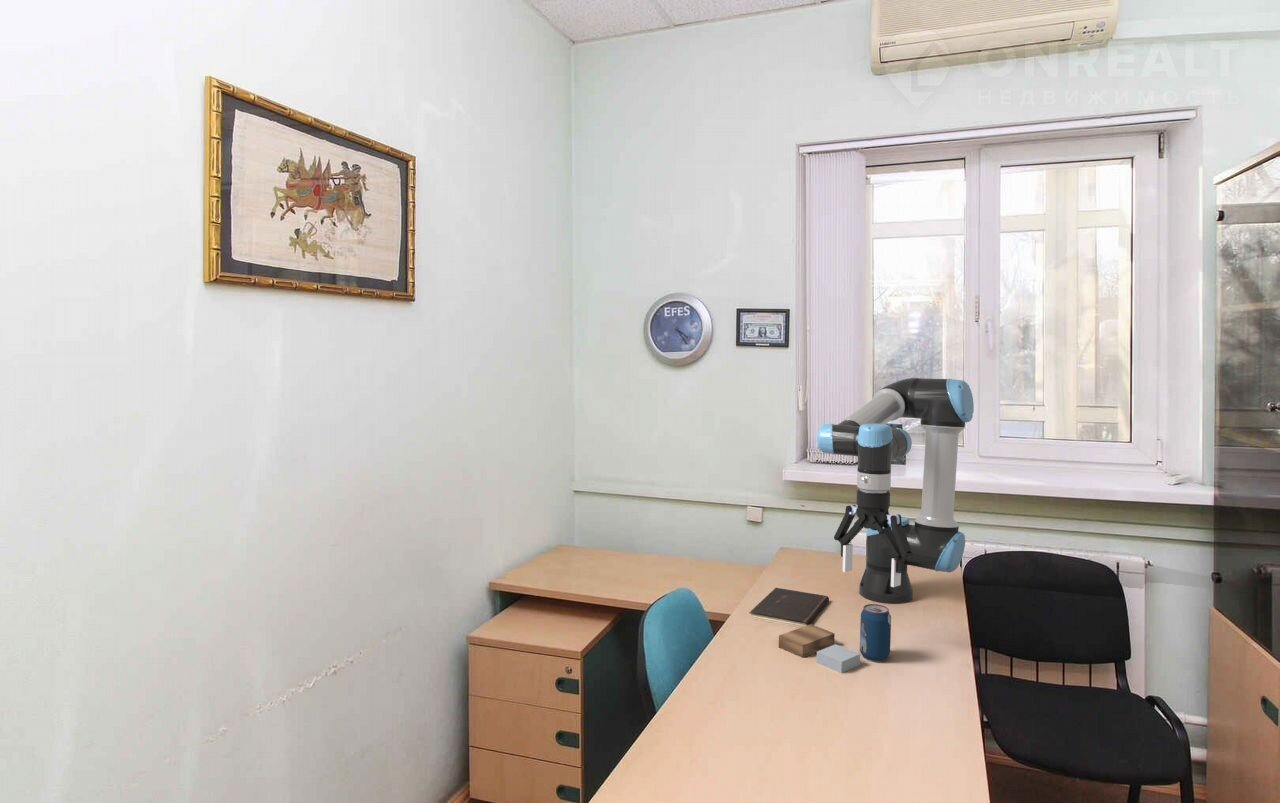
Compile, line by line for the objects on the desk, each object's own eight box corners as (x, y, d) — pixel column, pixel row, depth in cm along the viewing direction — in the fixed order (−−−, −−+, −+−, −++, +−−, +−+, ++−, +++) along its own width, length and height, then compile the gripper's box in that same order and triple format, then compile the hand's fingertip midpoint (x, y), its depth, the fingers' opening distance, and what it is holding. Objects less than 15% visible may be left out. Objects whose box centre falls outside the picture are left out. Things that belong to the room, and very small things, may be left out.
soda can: (894, 656, 178) (896, 608, 177) (881, 666, 173) (883, 615, 172) (867, 648, 183) (869, 600, 182) (854, 657, 178) (855, 608, 177)
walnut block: (810, 635, 191) (810, 624, 190) (834, 645, 185) (834, 633, 184) (778, 647, 183) (778, 635, 183) (802, 657, 177) (802, 645, 177)
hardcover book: (749, 620, 202) (749, 612, 202) (775, 595, 223) (775, 587, 222) (807, 631, 195) (807, 622, 195) (829, 603, 215) (829, 596, 215)
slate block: (835, 656, 179) (835, 644, 179) (859, 666, 174) (860, 653, 173) (816, 664, 175) (816, 651, 174) (841, 674, 169) (841, 661, 169)
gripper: (820, 483, 182) (818, 567, 184) (911, 501, 163) (907, 595, 164) (840, 480, 187) (838, 562, 189) (930, 496, 167) (927, 589, 169)
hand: (870, 578), depth 176 cm, fingers open, 13 cm apart
